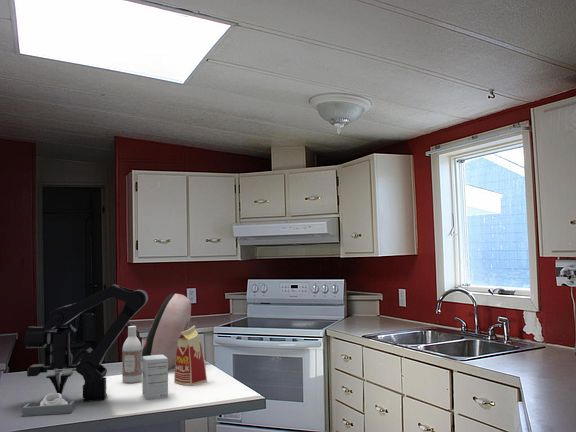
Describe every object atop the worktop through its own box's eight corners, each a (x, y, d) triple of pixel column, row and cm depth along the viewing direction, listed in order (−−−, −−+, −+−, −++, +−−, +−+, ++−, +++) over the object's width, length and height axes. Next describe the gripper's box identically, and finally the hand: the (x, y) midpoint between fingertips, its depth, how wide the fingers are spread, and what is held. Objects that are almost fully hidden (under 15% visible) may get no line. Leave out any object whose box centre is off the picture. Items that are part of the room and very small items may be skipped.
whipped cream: (68, 407, 172) (70, 391, 173) (66, 411, 165) (67, 394, 166) (41, 407, 170) (42, 391, 170) (37, 411, 163) (39, 394, 164)
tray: (74, 408, 166) (74, 400, 167) (71, 412, 162) (71, 404, 162) (27, 411, 164) (27, 403, 164) (22, 416, 159) (22, 407, 160)
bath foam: (119, 383, 197) (119, 327, 198) (126, 379, 204) (126, 325, 205) (138, 383, 197) (138, 327, 198) (144, 379, 204) (144, 324, 205)
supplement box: (141, 394, 181) (141, 356, 182) (164, 391, 184) (164, 353, 185) (145, 399, 175) (145, 359, 175) (168, 397, 177) (168, 357, 178)
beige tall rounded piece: (148, 362, 234) (148, 292, 236) (194, 361, 235) (193, 291, 237) (137, 374, 212) (137, 296, 214) (188, 372, 214) (187, 295, 215)
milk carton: (191, 378, 203) (190, 324, 205) (208, 381, 198) (207, 325, 199) (171, 383, 196) (171, 327, 198) (188, 386, 190) (188, 328, 192)
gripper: (94, 341, 187) (94, 387, 186) (35, 344, 183) (35, 391, 182) (88, 346, 176) (88, 396, 175) (26, 350, 172) (26, 400, 171)
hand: (60, 395), depth 176 cm, fingers closed
